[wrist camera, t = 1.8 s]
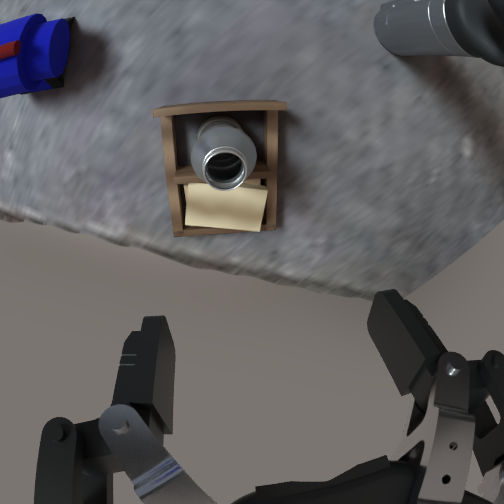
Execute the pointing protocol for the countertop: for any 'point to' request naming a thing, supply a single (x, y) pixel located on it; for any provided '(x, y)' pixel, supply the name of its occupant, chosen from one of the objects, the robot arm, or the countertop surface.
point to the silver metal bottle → (223, 153)
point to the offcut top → (226, 206)
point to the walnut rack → (188, 175)
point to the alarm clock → (33, 54)
